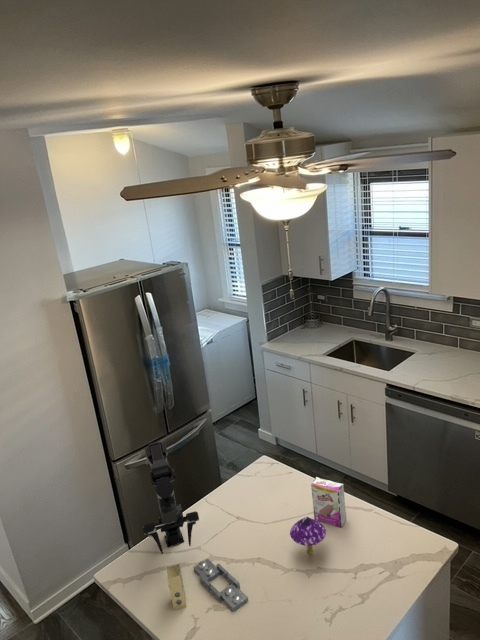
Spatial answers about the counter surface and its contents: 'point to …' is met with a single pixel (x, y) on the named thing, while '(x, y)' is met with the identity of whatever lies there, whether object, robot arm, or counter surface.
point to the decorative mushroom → (308, 533)
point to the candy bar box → (328, 502)
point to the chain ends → (231, 593)
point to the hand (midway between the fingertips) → (176, 550)
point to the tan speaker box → (176, 586)
